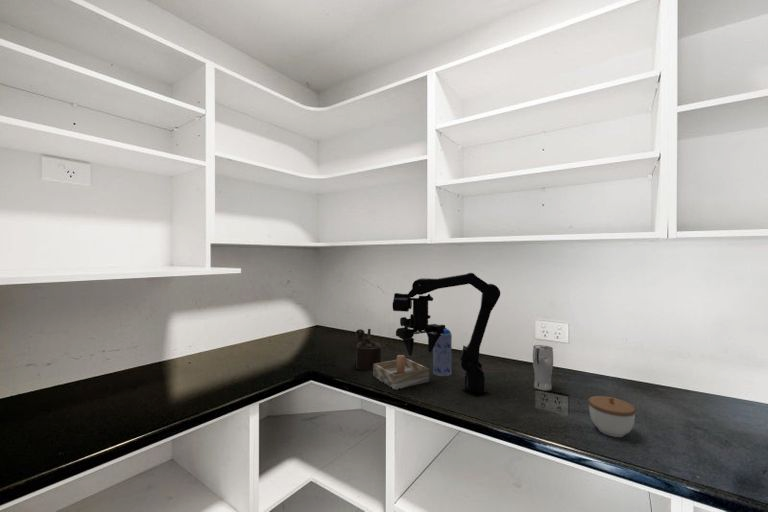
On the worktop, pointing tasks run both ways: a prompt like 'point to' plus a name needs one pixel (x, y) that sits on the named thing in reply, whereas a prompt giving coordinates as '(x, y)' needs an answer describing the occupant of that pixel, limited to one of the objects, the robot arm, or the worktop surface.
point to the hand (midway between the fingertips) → (420, 354)
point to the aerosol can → (442, 354)
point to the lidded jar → (612, 415)
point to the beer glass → (543, 366)
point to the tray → (410, 377)
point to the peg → (400, 364)
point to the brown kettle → (366, 351)
